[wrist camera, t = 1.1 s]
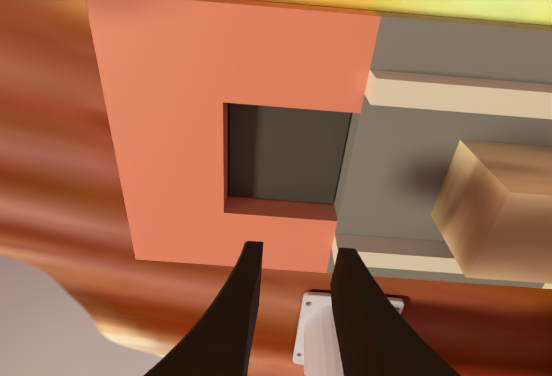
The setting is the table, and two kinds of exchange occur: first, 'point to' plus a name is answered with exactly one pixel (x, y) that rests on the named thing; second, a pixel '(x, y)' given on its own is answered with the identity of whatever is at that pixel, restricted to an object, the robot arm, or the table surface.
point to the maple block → (498, 211)
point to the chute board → (307, 126)
